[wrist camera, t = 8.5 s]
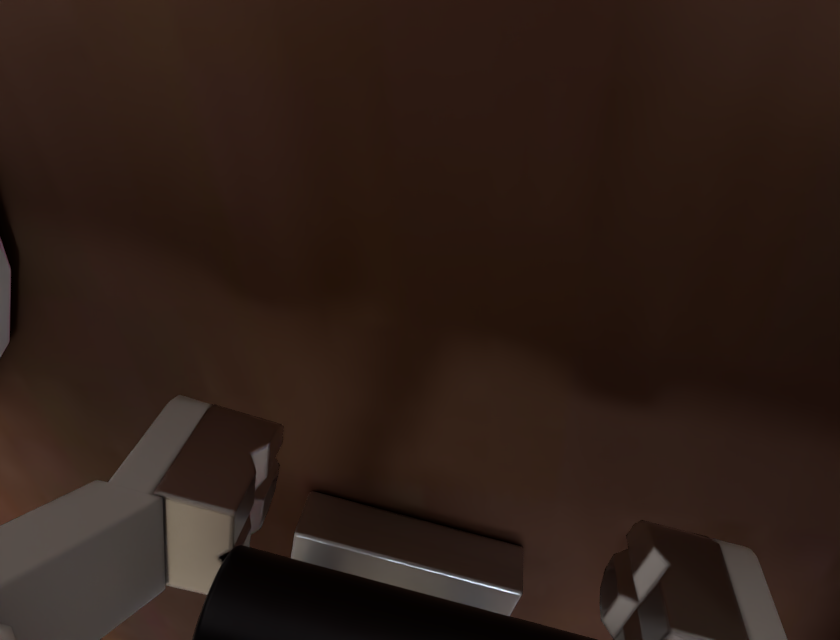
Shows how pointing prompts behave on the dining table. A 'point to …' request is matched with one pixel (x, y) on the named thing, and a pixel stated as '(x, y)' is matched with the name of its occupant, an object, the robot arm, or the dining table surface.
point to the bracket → (409, 553)
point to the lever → (339, 607)
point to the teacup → (4, 299)
